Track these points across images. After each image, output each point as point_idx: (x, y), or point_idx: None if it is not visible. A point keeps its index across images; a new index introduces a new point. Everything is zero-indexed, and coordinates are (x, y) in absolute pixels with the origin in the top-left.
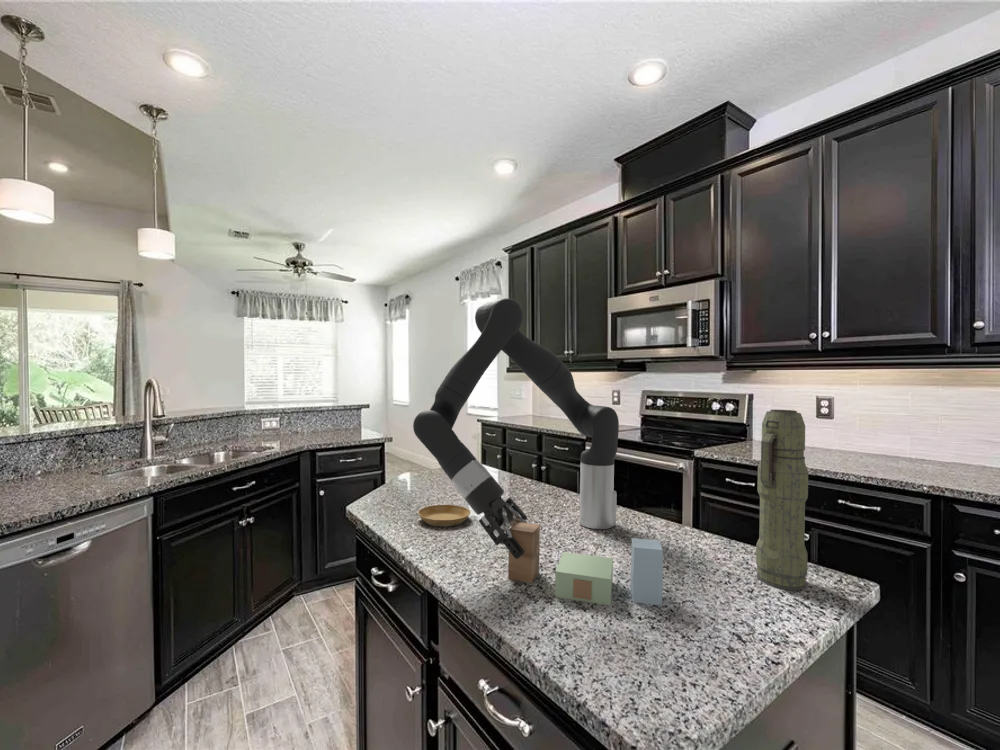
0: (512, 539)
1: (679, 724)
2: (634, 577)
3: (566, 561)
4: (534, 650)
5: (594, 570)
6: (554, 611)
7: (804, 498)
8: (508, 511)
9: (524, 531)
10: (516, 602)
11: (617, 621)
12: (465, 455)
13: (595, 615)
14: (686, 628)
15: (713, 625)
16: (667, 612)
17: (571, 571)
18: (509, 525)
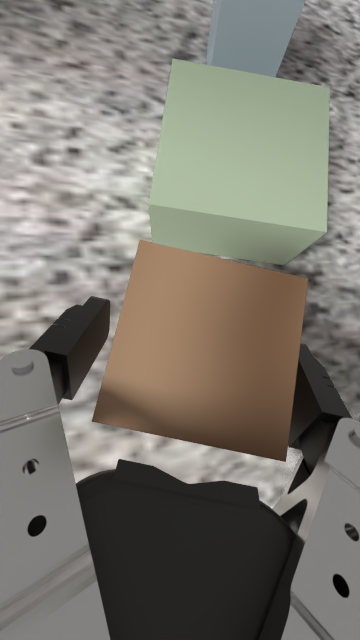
0: (334, 409)
1: None
2: (292, 33)
3: (235, 196)
4: None
5: (283, 120)
6: (351, 266)
7: None
8: (102, 598)
9: (300, 337)
10: (338, 356)
11: (350, 148)
12: None
13: (340, 185)
14: (335, 45)
15: (312, 4)
16: (287, 58)
17: (311, 184)
18: (336, 473)
